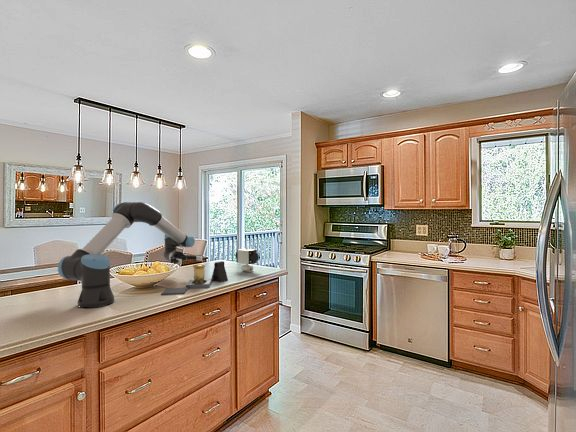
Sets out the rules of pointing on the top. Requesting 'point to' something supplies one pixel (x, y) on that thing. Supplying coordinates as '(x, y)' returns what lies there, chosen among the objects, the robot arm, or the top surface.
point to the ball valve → (247, 258)
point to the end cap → (199, 273)
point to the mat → (175, 291)
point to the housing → (199, 284)
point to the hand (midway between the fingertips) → (191, 260)
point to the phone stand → (219, 272)
